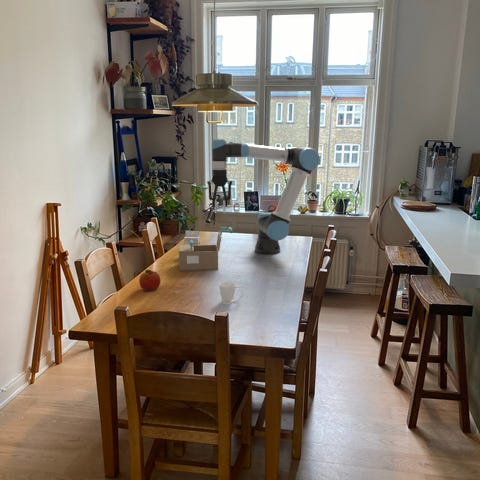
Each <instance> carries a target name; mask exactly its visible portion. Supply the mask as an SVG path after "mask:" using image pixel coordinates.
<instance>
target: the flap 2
mask: <svg viewBox="0 0 480 480" xmlns="http://www.w3.org/2000/svg"><path fill="white" fill-rule="evenodd" d="M223 232H225V233H230V234H233V233H234V231H233V228H232V227H231V226H229V227H226V226H225V227H224V226H219V231H217V240H216V244H215V245H216V246H217V249H218V252H220V248H221V243H222V233H223Z"/></svg>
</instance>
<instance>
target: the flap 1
mask: <svg viewBox="0 0 480 480" xmlns="http://www.w3.org/2000/svg"><path fill="white" fill-rule="evenodd" d="M179 252H194V247H193V240H190V244H186V245H184V244H179V245H178V253H179Z"/></svg>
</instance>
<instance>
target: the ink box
mask: <svg viewBox="0 0 480 480" xmlns="http://www.w3.org/2000/svg"><path fill="white" fill-rule="evenodd" d="M190 240H193V245H201V241H200V240H201V239H200V231H199V230H185V235H184V237H183V245H186V244H190Z"/></svg>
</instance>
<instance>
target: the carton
mask: <svg viewBox="0 0 480 480" xmlns="http://www.w3.org/2000/svg"><path fill="white" fill-rule="evenodd" d="M193 247H194V252H179V251H178V264H179V265H178V266H179V272H192V271H193V272H194V271H197V272H198V271H200V272H201V271H218V270H219V251H218V249H217V245H216V244H200V245H193Z"/></svg>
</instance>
